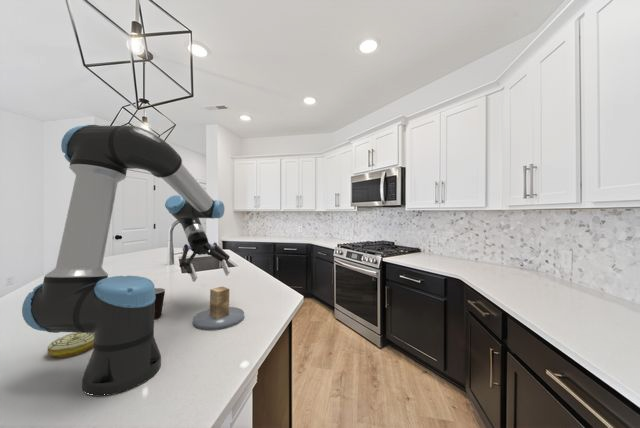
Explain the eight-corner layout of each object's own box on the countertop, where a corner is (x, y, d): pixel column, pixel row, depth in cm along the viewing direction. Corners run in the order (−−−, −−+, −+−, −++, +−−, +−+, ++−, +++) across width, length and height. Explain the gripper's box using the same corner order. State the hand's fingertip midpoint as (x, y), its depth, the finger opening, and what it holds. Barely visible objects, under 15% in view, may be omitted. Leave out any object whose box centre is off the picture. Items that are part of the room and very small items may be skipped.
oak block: (216, 319, 90) (216, 291, 90) (209, 315, 93) (210, 289, 94) (228, 315, 94) (229, 289, 94) (222, 311, 97) (222, 286, 97)
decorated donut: (104, 337, 79) (104, 325, 79) (90, 354, 69) (91, 341, 69) (59, 344, 74) (60, 331, 74) (39, 363, 65) (39, 349, 65)
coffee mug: (169, 313, 98) (170, 288, 98) (152, 323, 89) (153, 295, 90) (142, 312, 99) (143, 287, 99) (123, 321, 91) (124, 293, 91)
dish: (207, 335, 81) (208, 330, 81) (184, 320, 92) (184, 316, 92) (253, 318, 95) (253, 314, 95) (228, 307, 106) (228, 303, 106)
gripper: (220, 240, 120) (236, 276, 110) (162, 244, 101) (176, 288, 91) (226, 230, 117) (243, 266, 107) (167, 232, 97) (182, 276, 88)
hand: (212, 276), depth 99 cm, fingers open, 13 cm apart
